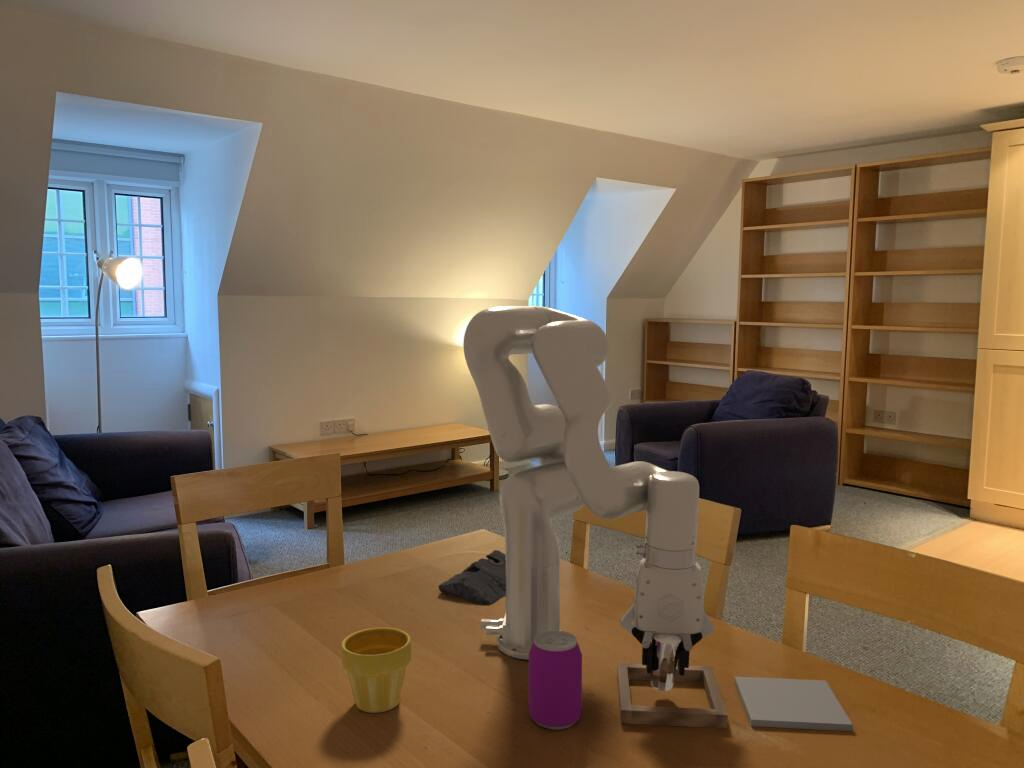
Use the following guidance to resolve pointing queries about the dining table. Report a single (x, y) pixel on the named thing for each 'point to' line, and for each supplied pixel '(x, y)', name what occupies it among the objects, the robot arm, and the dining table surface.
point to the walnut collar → (671, 715)
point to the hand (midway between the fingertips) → (664, 669)
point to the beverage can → (555, 680)
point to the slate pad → (791, 704)
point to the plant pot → (376, 666)
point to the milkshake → (664, 659)
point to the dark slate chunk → (480, 580)
